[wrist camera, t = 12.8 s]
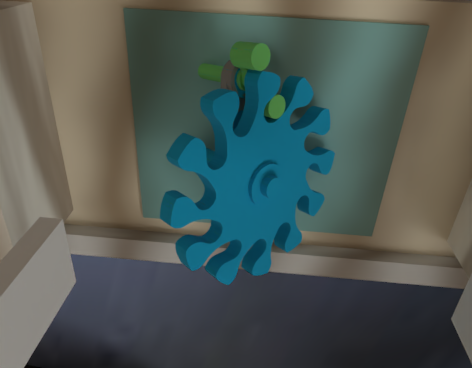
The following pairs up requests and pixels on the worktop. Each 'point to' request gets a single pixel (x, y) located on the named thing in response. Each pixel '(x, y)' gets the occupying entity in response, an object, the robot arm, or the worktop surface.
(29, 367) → the electrical component
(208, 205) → the gear
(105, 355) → the worktop surface
